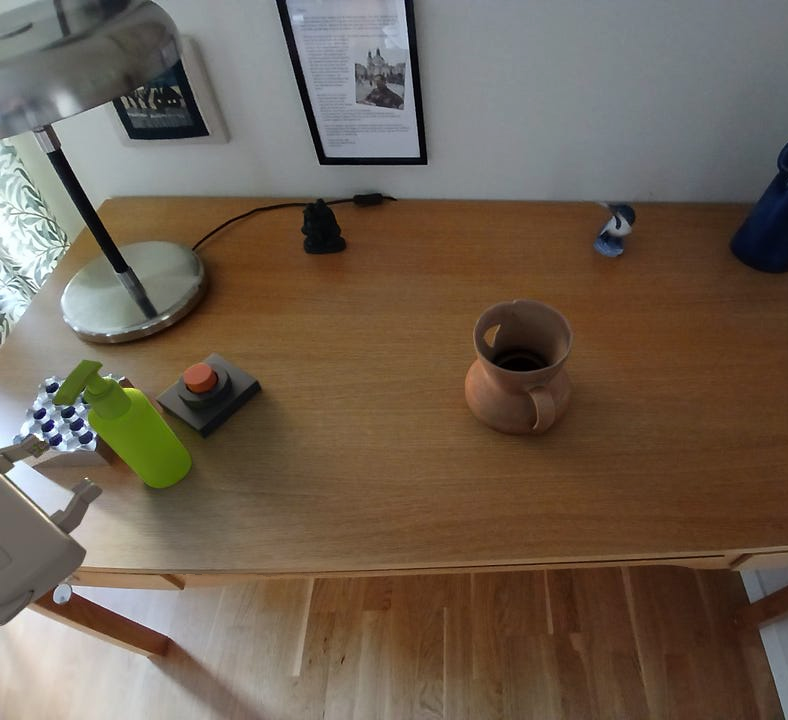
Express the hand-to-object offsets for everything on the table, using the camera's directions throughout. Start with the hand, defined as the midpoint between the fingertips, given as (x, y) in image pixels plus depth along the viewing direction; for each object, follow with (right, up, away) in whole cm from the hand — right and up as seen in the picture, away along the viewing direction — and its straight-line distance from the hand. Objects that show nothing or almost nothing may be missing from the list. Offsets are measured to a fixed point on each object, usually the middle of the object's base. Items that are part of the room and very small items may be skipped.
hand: (69, 461), depth 58 cm
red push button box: (+6, +5, +19) cm, 21 cm away
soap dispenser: (+3, -4, +12) cm, 13 cm away
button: (+6, +8, +17) cm, 19 cm away
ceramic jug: (+49, +4, +20) cm, 52 cm away
